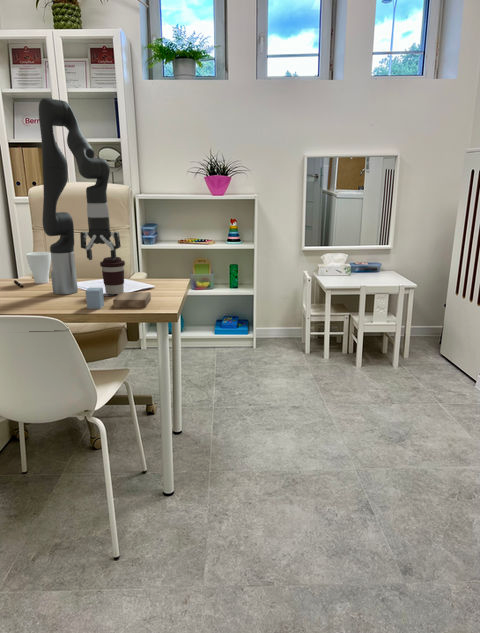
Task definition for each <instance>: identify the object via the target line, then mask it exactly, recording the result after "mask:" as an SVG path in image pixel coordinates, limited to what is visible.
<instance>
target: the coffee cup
mask: <svg viewBox="0 0 480 633" xmlns="http://www.w3.org/2000/svg"><path fill="white" fill-rule="evenodd" d="M99 266H100V267H101V273H102V279H103V285H104V289H105V294H106V293H107V294H106V295H108V294H119V293H120V292H124V288H125V286H124V285H125V269H124V266H126V262H125V260H122V257H119V256H116V258H115V260H111V256H108V257H104V258H103V260H101V261H100V262H99Z"/></svg>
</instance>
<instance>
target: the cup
mask: <svg viewBox="0 0 480 633" xmlns="http://www.w3.org/2000/svg"><path fill="white" fill-rule="evenodd" d="M25 255H26V256H25V257H26V260H27V264H28V267H29V269H30V271H31V273H32V277H33V280H34V284H38V285H39V284H40V285H41V284H48V283H49V280H50V278H49V277H50V269H51V264H52V262H51V253H50V251H34V252H28V253H26V254H25Z"/></svg>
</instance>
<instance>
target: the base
mask: <svg viewBox="0 0 480 633" xmlns="http://www.w3.org/2000/svg"><path fill="white" fill-rule="evenodd" d="M151 297H152V296H151V291H150V292H149V291H147V292H146V291H135V292H133V291H132V292H131V291H130V292H129V291H127V292H126V291H125V292H120V293H119V294H118V295H115V297H114V298H113V299H112V303H113V308H116V309H117V308H118V309H119V308H120V307H123V308H147V306H148V305H149V304H150V302H151V299H152V298H151ZM123 308H122V309H123ZM120 309H121V308H120Z"/></svg>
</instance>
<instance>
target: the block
mask: <svg viewBox="0 0 480 633" xmlns="http://www.w3.org/2000/svg"><path fill="white" fill-rule="evenodd" d="M103 289H104V287H88V288H87V289H86V290H85V299H86V308H87V310H95V309H97V310H102V308H103V307H104V306H105V301H104V290H103Z"/></svg>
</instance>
